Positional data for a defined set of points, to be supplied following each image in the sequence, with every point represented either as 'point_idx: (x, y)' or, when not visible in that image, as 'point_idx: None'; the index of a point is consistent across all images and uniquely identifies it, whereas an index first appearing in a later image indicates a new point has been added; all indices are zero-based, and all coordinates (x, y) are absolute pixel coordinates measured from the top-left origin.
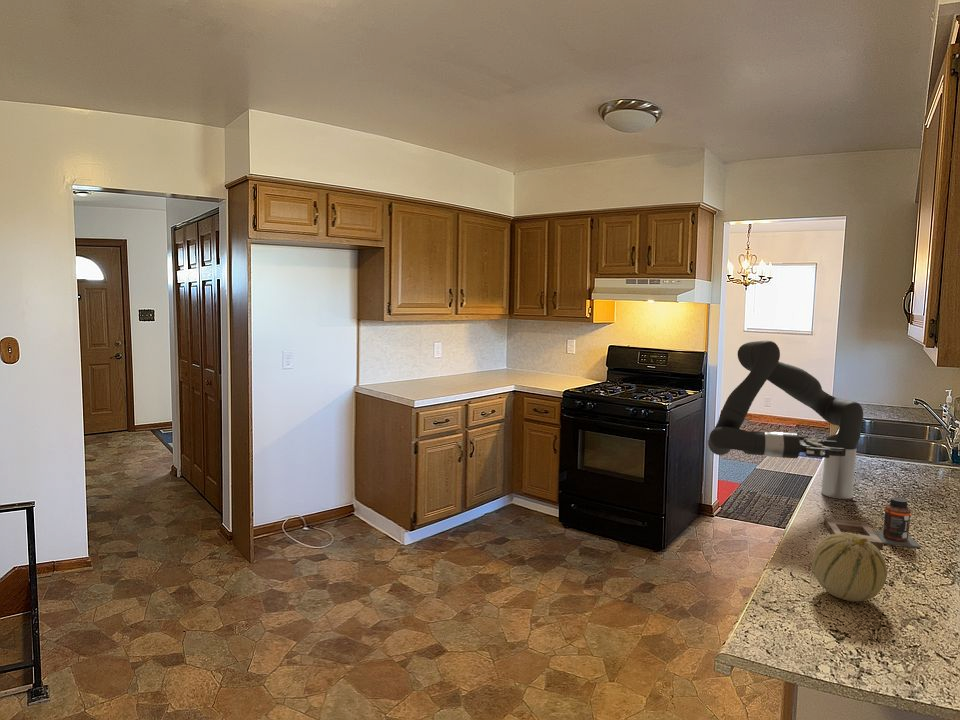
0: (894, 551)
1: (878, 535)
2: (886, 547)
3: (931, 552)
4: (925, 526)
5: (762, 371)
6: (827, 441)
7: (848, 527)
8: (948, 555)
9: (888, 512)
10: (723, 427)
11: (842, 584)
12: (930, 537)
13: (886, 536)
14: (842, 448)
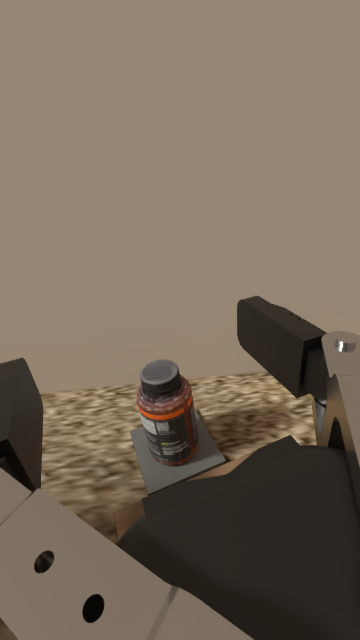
0: (256, 438)
1: (181, 476)
2: (244, 454)
3: (202, 396)
4: (44, 421)
5: None
6: (15, 413)
7: None
8: (196, 380)
9: (184, 410)
10: None
11: None
12: (113, 407)
13: (192, 455)
14: (257, 300)
